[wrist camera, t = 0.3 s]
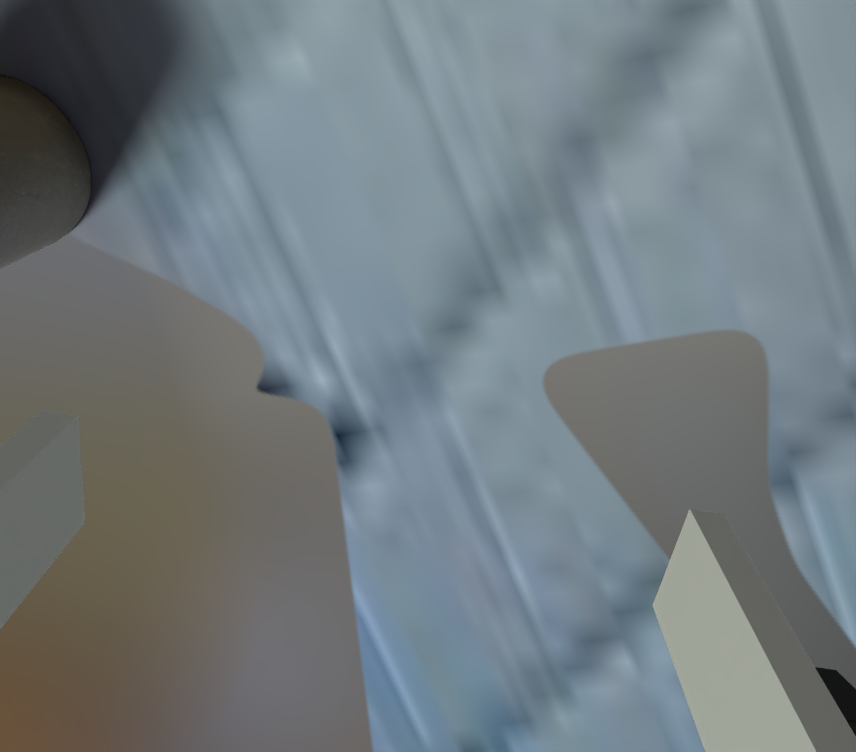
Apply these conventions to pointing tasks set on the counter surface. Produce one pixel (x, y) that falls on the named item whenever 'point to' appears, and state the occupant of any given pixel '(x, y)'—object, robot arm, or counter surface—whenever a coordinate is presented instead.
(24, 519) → the robot arm
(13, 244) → the pillar candle
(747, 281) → the counter surface
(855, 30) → the counter surface
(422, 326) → the counter surface
